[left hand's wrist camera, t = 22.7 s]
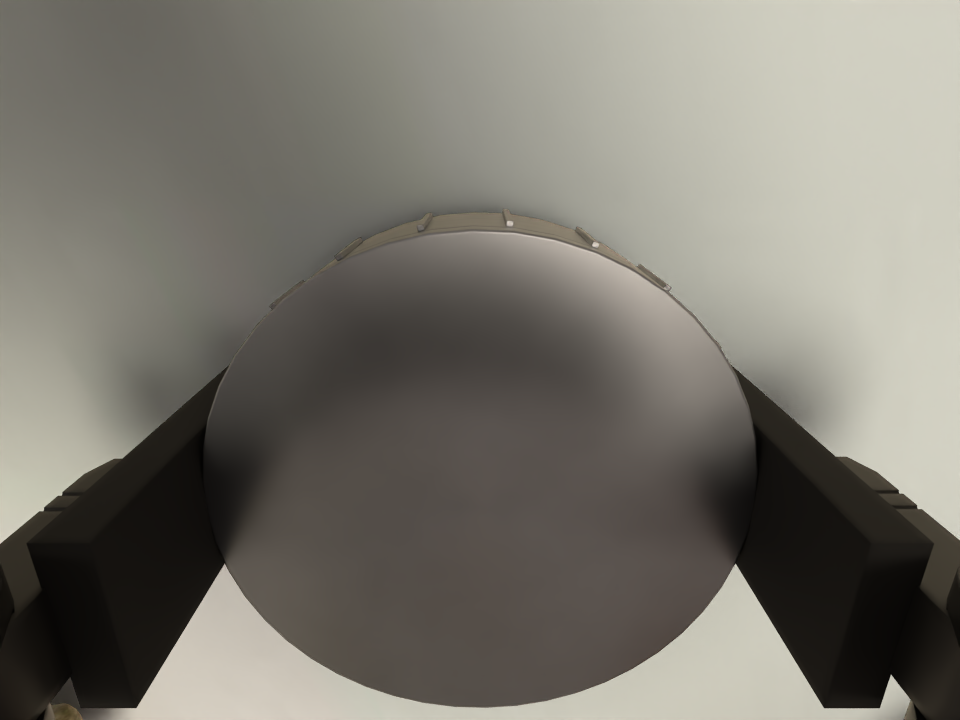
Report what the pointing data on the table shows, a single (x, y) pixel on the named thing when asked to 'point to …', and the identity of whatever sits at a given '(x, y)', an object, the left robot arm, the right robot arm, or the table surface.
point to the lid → (480, 463)
